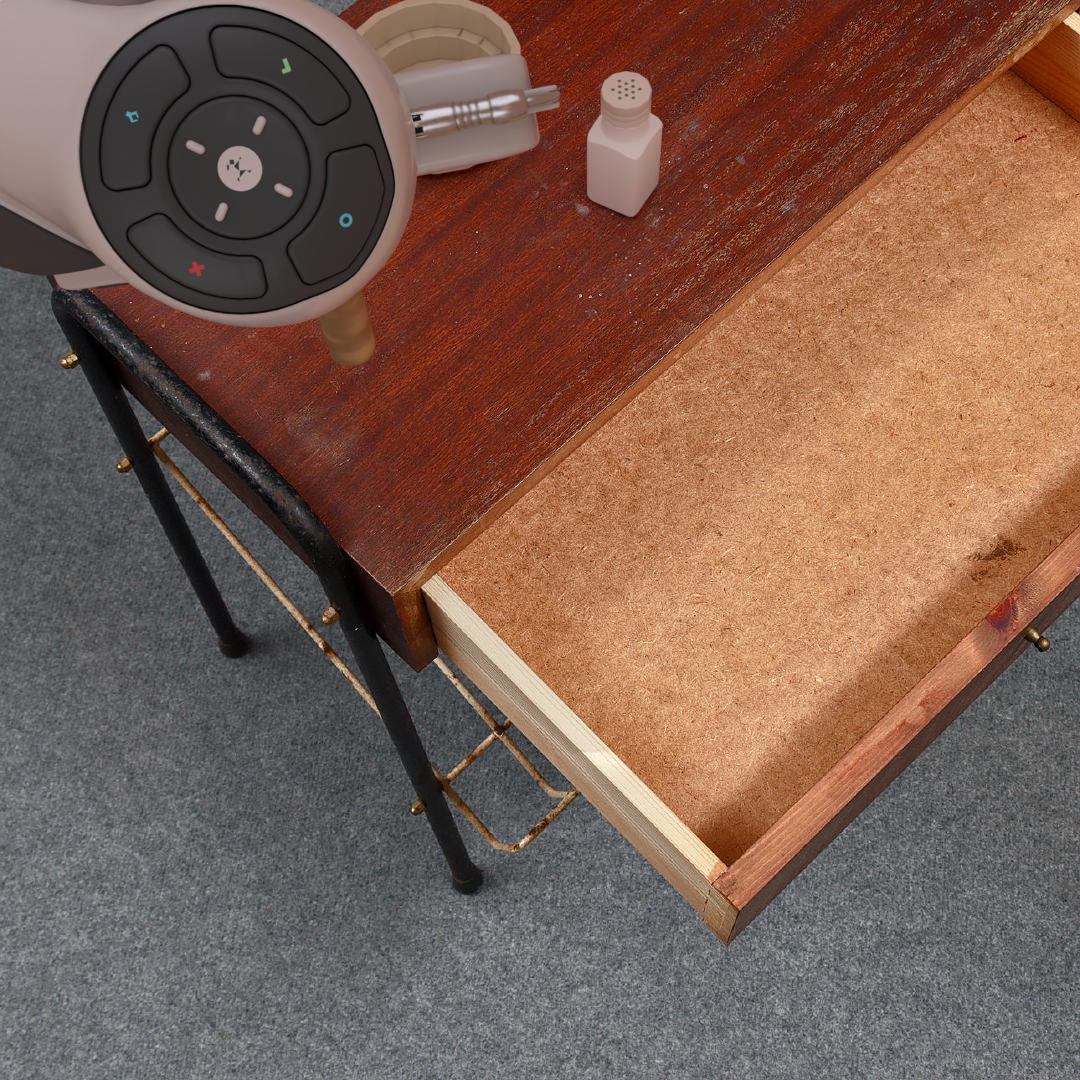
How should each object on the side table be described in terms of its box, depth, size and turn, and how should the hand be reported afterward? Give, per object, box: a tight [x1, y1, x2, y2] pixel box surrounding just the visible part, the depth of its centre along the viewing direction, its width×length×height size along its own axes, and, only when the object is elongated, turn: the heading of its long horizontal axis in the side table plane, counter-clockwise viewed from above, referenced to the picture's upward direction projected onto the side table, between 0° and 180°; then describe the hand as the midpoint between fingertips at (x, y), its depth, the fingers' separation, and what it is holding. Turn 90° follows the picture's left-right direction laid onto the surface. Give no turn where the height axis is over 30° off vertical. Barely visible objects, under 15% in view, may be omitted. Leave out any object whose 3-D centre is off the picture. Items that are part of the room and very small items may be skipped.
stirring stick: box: [317, 288, 377, 367], centre depth 58 cm, size 3×3×26 cm
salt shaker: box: [586, 70, 664, 218], centre depth 84 cm, size 4×4×10 cm
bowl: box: [355, 0, 522, 175], centre depth 90 cm, size 12×13×5 cm
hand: (294, 145), depth 57 cm, fingers closed on stirring stick, 2 cm apart
